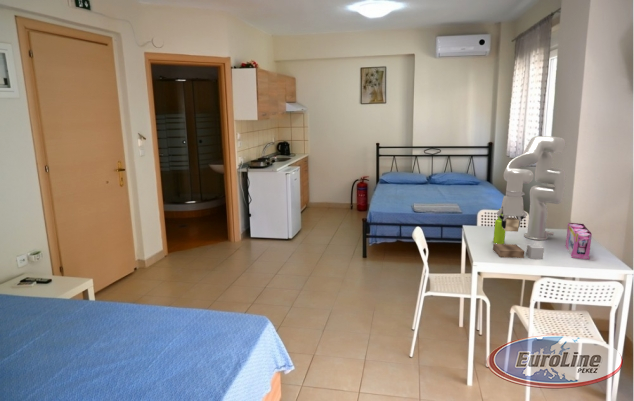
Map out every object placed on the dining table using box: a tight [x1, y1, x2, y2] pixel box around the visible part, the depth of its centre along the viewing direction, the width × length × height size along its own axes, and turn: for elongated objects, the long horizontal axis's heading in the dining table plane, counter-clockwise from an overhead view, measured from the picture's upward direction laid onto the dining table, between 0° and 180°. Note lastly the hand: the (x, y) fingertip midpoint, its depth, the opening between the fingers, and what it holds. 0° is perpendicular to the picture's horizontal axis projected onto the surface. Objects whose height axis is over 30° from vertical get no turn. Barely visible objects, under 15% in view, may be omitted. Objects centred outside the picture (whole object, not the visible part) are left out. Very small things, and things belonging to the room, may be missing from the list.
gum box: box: [565, 222, 593, 260], centre depth 235 cm, size 24×8×14 cm, turn 159°
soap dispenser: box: [492, 208, 506, 244], centre depth 251 cm, size 6×7×20 cm
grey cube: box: [525, 243, 545, 260], centre depth 228 cm, size 6×6×6 cm
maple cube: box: [502, 216, 520, 233], centre depth 230 cm, size 6×6×6 cm
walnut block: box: [492, 243, 526, 259], centre depth 233 cm, size 12×12×4 cm
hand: (510, 227), depth 230 cm, fingers closed on maple cube, 6 cm apart
